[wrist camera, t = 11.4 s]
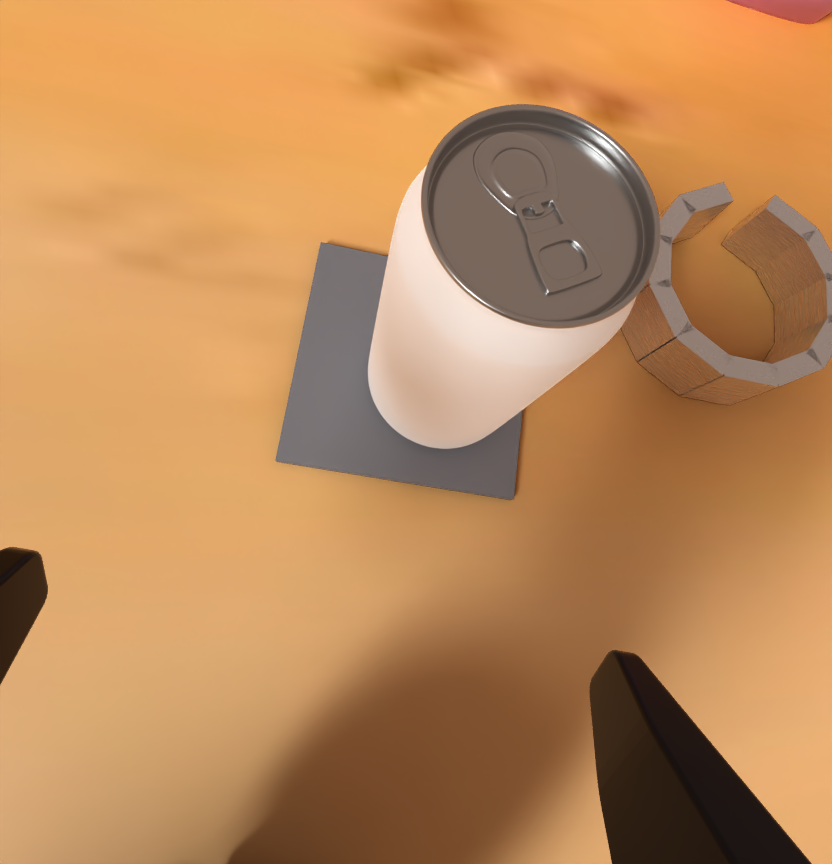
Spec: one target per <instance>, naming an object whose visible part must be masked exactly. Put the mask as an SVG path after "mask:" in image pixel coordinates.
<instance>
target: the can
mask: <svg viewBox="0 0 832 864" xmlns="http://www.w3.org/2000/svg"><path fill="white" fill-rule="evenodd" d="M659 247H660V219H659V213H658V208H657V204H656V201H655V198H654V195H653V192H652V190H651V188H650V185H649V183H648V181H647V179H646V178H645V176H644V174H643V172H642V171H641V169H640V168H639V166H638V165H637V163H636V162H635V161H634V159H633V158H632V157H631V156H630V155H629V153H628V152H627V151H626V150H625V149H624V148H623V147H622V146H621V145H620V144H619V143H618V142H617V141H615V140H614V139H613V138H612V137H611V136H610V135H608V134H607V133H606V132H604V131H603V130H601V129H600V128H598V127H597V126H595V125H594V124H592V123H590V122H588V121H586V120H584V119H582V118H580V117H578V116H576V115H573V114H571V113H568V112H565V111H562V110H559V109H555V108H551V107H546V106H540V105H529V104H516V105H506V106H500V107H495V108H491V109H488V110H485V111H482V112H479V113H477V114H475V115H473V116H471V117H469V118H467V119H466V120H464V121H462V122H461V123H459V124H458V125H457V126H455V127H454V128H453V129H452V130H451V131H450V132H449V133H448V134H447V135H446V136H445V137H444V138H443V139H442V140H441V142H440V143H439V144H438V146H437V147H436V149H435V150H434V152H433V154H432V156H431V158H430V160H429V162H428V164H427V165H426V166H425V168H424V169H423V170H422V171H421V172H420V173H419V174H418V176H417V177H416V178H415V179H414V181H413V182H412V184H411V185H410V187H409V189H408V190H407V192H406V194H405V197H404V199H403V201H402V204H401V207H400V209H399V212H398V215H397V219H396V223H395V227H394V231H393V236H392V240H391V245H390V250H389V255H388V260H387V265H386V270H385V275H384V280H383V285H382V290H381V296H380V301H379V306H378V311H377V317H376V322H375V327H374V333H373V338H372V344H371V349H370V355H369V362H368V382H369V388H370V392H371V395H372V398H373V401H374V403H375V405H376V407H377V409H378V411H379V412H380V414H381V415H382V417H383V418H384V419H385V420H386V422H387V423H388V424H389V425H390V426H391V427H392V428H393V429H394V430H396V431H397V432H398V433H399V434H401V435H402V436H404V437H405V438H407V439H409V440H411V441H413V442H415V443H418V444H421V445H424V446H427V447H432V448H440V449H451V448H459V447H464V446H467V445H470V444H473V443H475V442H477V441H479V440H481V439H483V438H485V437H486V436H488V435H489V434H491V433H492V432H494V431H495V430H496V429H498V428H499V427H500V426H502V425H503V424H504V423H506V422H507V421H508V420H510V419H511V418H512V417H514V416H515V415H516V414H518V413H519V412H520V411H522V410H523V409H524V408H526V407H527V406H528V405H530V404H531V403H532V402H533V401H535V400H536V399H537V398H539V397H540V396H541V395H543V394H544V393H545V392H547V391H548V390H549V389H550V388H552V387H553V386H554V385H556V384H557V383H558V382H560V381H561V380H562V379H563V378H565V377H566V376H567V375H569V374H570V373H571V372H572V371H574V370H575V369H576V368H578V367H579V366H580V365H581V364H583V363H584V362H585V361H586V360H588V359H589V358H590V357H591V356H593V355H594V354H595V353H596V352H597V351H599V350H600V349H601V348H602V347H603V346H604V345H605V344H606V343H607V342H608V341H609V340H610V339H611V338H612V337H613V336H614V335H615V334H616V333H617V332H618V330H619V329H620V328H621V326H622V325H623V324H624V322H625V321H626V319H627V317H628V315H629V314H630V311H631V309H632V307H633V305H634V302H635V300H636V297H637V295H638V294H639V293H640V291H641V290H642V289H643V287H644V286H645V285H646V283H647V281H648V280H649V278H650V276H651V274H652V272H653V269H654V267H655V264H656V261H657V257H658V253H659Z"/></svg>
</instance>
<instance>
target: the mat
mask: <svg viewBox="0 0 832 864" xmlns="http://www.w3.org/2000/svg"><path fill="white" fill-rule="evenodd" d="M387 260H388V256H384V255H379V254H374V253H369V252H365V251H360V250H355V249H351V248H346V247H341V246H336V245H332V244H327V243H322V242H321V244H320V249H319V254H318V258H317V263H316V268H315V273H314V278H313V282H312V287H311V292H310V297H309V302H308V307H307V311H306V316H305V321H304V326H303V331H302V335H301V340H300V345H299V350H298V355H297V359H296V364H295V369H294V374H293V379H292V384H291V388H290V393H289V398H288V403H287V408H286V412H285V417H284V422H283V427H282V432H281V437H280V441H279V446H278V451H277V456H276V462H281V463H287V464H293V465H300V466H306V467H312V468H318V469H324V470H330V471H336V472H342V473H348V474H355V475H361V476H367V477H373V478H379V479H385V480H391V481H397V482H403V483H410V484H416V485H422V486H428V487H434V488H440V489H446V490H452V491H459V492H465V493H471V494H477V495H483V496H489V497H495V498H501V499H507V500H513V499H514V492H515V482H516V471H517V461H518V451H519V441H520V430H521V420H522V411H520V412H519V413H518V414H516V415H515V416H514V417H512V418H511V419H510V420H508V421H507V422H506V423H504V424H503V425H502V426H500V427H499V428H498V429H496V430H495V431H494V432H492V433H491V434H489V435H488V436H486V437H485V438H483V439H481V440H479V441H477V442H475V443H473V444H470V445H467V446H464V447H459V448H451V449H440V448H432V447H427V446H424V445H421V444H418V443H415V442H413V441H411V440H409V439H407V438H405V437H404V436H402V435H401V434H399V433H398V432H397V431H396V430H394V429H393V428H392V427H391V426H390V425H389V424H388V423H387V422H386V420H385V419H384V418H383V417H382V415H381V414H380V412H379V411H378V409H377V407H376V405H375V403H374V401H373V398H372V395H371V392H370V388H369V382H368V362H369V355H370V349H371V344H372V338H373V333H374V327H375V322H376V317H377V311H378V306H379V301H380V296H381V290H382V285H383V280H384V275H385V270H386V265H387Z"/></svg>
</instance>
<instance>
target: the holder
mask: <svg viewBox="0 0 832 864" xmlns="http://www.w3.org/2000/svg"><path fill="white" fill-rule="evenodd" d="M733 201H734V200H733V198H732V197H731V195H730V193H729V191H728V189H727V187H726V185H725V184H724V182H723V183H719V184H716V185H712V186H709V187H705V188H702V189H698V190H695V191H692V192H688V193H685V194H681V195H679V196H678V197H677V198H676V199H675V200H674V201H673V202H672V203H671V204H670V205H669V206H668V207H667V208H666V210H665V211H664V212H663V213H662V214H661V215H660V216H659V219H660V247H659V253H658V257H657V261H656V264H655V267H654V269H653V272H652V274H651V276H650V278H649V280H648V281H647V283H646V285H645V286H644V287H643V289H642V290H641V291H640V293H639V294H638V295H637V297H636V300H635V302H634V305H633V307H632V309H631V311H630V314H629V315H628V317H627V319H626V321H625V322H624V324H623V325H622V326H621V330H622V332H623V334H624V336H625V338H626V340H627V342H628V344H629V347H630V349H631V351H632V353H633V355H634V357H635V359H636V361H638V363H639V364H640V365H641V366H643V367H644V368H645V369H646V370H648V371H649V372H650V373H651V374H653V375H654V376H655V377H656V378H658V379H659V380H660V381H661V382H663V383H664V384H665V385H666V386H668V387H669V388H670V389H671V390H673V391H674V392H675V393H676V394H678V395H680V396H682V397H687V398H693V399H698V400H703V401H708V402H713V403H718V404H724V405H732V404H735V403H737V402H740V401H743V400H745V399H748V398H750V397H753V396H756V395H758V394H761V393H764V392H766V391H769V390H772V389H774V388H777V387H780V386H782V385H785V384H787V383H789V382H792V381H794V380H797V379H799V378H802V377H804V376H807V375H809V374H812V373H814V372H816V371H819V370H821V369H824V368H825V366H826V364H827V363H828V361H829V359H830V357H831V356H832V252H831V251H830V249H829V247H828V245H827V243H826V242H825V240H824V238H823V236H822V234H821V233H820V231H819V229H817V227H816V226H815V225H813V224H812V223H811V222H809V221H808V220H807V219H806V218H804V217H803V216H802V215H800V214H799V213H798V212H797V211H795V210H794V209H793V208H791V207H790V206H789V205H788V204H786V203H785V202H784V201H783V200H781V199H780V198H779V197H777V196H776V195H774V196H773V197H772V198H770V199H769V200H768V201H767V202H766V203H764V204H763V205H762V206H761V207H759V208H758V209H757V210H756V211H754V212H753V213H752V214H751V215H750V216H748V217H747V218H746V219H745V220H743V221H742V222H741V223H740V224H738V225H737V226H736V227H735V228H734V229H732V230H731V231H730V232H729V233H728V235H727V236H726V238H725V239H724V241H723V242H722V243H721V244H722V245H723V246H724V247H725V248H727V249H728V250H729V251H730V252H732V253H733V254H734V255H736V256H737V257H738V258H739V259H741V260H742V261H743V262H744V263H746V264H747V265H748V266H750V267H751V268H752V269H753V270H755V271H756V273H757V275H758V277H759V278H760V280H761V282H762V284H763V286H764V288H765V290H766V292H767V294H768V295H769V297H770V299H771V301H772V303H773V305H774V322H775V344H774V345H773V347H772V348H771V350H770V352H769V353H768V355H767V357H766V358H765V360H764V361H763V362H761V361H757V360H752V359H747V358H742V357H737V356H732V355H729V354H728V353H726V352H725V351H724V350H723V349H721V348H720V347H719V346H718V345H716V344H715V343H714V342H712V341H711V340H710V339H709V338H707V337H706V336H705V335H704V334H702V333H701V332H700V331H699V330H697V329H696V328H695V327H694V326H692V325H691V323H690V321H689V319H688V317H687V315H686V313H685V311H684V309H683V307H682V305H681V303H680V301H679V299H678V297H677V295H676V293H675V291H674V289H673V287H672V285H671V260H672V243H676V242H679V241H682V240H685V239H688V238H691V237H693V236H694V235H695V234H696V233H697V232H699V231H700V230H701V229H702V228H703V227H704V226H705V225H706V224H708V223H709V222H710V221H711V220H712V219H713V218H714V217H716V216H717V215H718V214H719V213H720V212H721V211H722V210H723V209H725V208H726V207H727V206H728V205H729V204H730V203H731V202H733ZM816 229H817V230H816Z"/></svg>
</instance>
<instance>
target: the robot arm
mask: <svg viewBox="0 0 832 864" xmlns="http://www.w3.org/2000/svg"><path fill="white" fill-rule="evenodd" d="M47 594H48V585H47V580H46V575H45V570H44V566H43V561H42V557H41V555H40V554H39V553H38V552H37V551H34V550H28V549H23V548H17V547H9V548H5V549H3V550H0V685H1V683H2V681H3V679H4V677H5V675H6V673H7V672H8V670H9V668H10V666H11V664H12V662H13V661H14V659H15V657H16V655H17V653H18V651H19V649H20V648H21V646H22V644H23V642H24V640H25V638H26V636H27V635H28V633H29V631H30V629H31V627H32V625H33V624H34V622H35V620H36V618H37V616H38V614H39V612H40V611H41V609H42V607H43V605H44V603H45V600H46V598H47ZM590 704H591V715H592V726H593V737H594V748H595V759H596V770H597V780H598V788H599V795H600V801H601V807H602V812H603V818H604V823H605V828H606V833H607V839H608V844H609V849H610V855H611V860H612V864H812V863H811V862H810V861H809V860H808V859H807V857H806V856H805V855H804V854H803V853H802V851H801V850H800V849H799V848H798V847H797V845H796V844H795V843H794V842H793V841H792V839H791V838H790V837H789V836H788V835H787V833H786V832H785V831H784V830H783V829H782V827H781V826H780V825H779V824H778V823H777V821H776V820H775V819H774V818H773V817H772V815H771V814H770V813H769V812H768V811H767V809H766V808H765V807H764V806H763V805H762V803H761V802H760V801H759V800H758V799H757V797H756V796H755V795H754V794H753V793H752V791H751V790H750V789H749V788H748V787H747V785H746V784H745V783H744V782H743V781H742V779H741V778H740V777H739V776H738V775H737V773H736V772H735V771H734V770H733V769H732V767H731V766H730V765H729V764H728V763H727V761H726V760H725V759H724V758H723V757H722V755H721V754H720V753H719V752H718V751H717V749H716V748H715V747H714V746H713V745H712V743H711V742H710V741H709V740H708V739H707V737H706V736H705V735H704V734H703V733H702V731H701V730H700V729H699V728H698V727H697V725H696V724H695V723H694V722H693V721H692V719H691V718H690V717H689V716H688V715H687V713H686V712H685V711H684V710H683V709H682V707H681V706H680V705H679V704H678V703H677V701H676V700H675V699H674V698H673V697H672V695H671V694H670V693H669V692H668V691H667V689H666V688H665V687H664V686H663V685H662V683H661V682H660V681H659V680H658V679H657V677H656V676H655V675H654V674H653V673H652V671H651V670H650V669H649V668H648V667H647V665H646V664H645V663H644V662H643V661H642V659H641V658H640V657H639V656H637V655H636V654H634V653H630V652H624V651H618V650H612V651H610V652H609V653H608V654H607V655H606V657H605V658H604V660H603V662H602V663H601V665H600V666H599V668H598V669H597V671H596V672H595V674H594V676H593V677H592V680H591V683H590Z"/></svg>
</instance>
